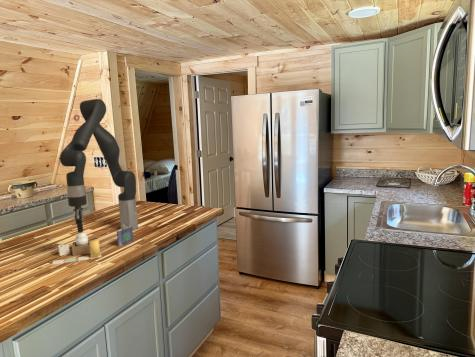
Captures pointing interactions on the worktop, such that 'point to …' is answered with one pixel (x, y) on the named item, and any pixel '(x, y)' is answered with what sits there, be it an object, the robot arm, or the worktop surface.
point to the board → (77, 253)
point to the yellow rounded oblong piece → (94, 248)
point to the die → (63, 249)
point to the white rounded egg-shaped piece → (81, 239)
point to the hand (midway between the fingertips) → (80, 231)
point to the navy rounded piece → (124, 235)
